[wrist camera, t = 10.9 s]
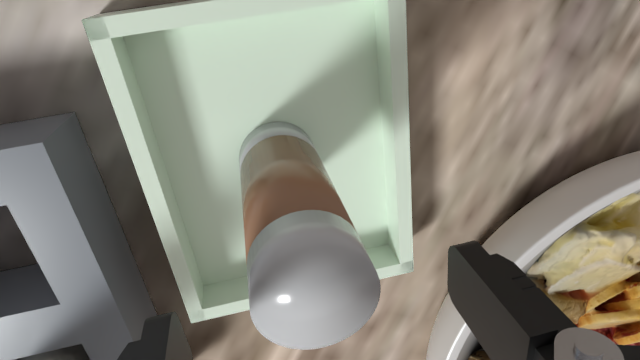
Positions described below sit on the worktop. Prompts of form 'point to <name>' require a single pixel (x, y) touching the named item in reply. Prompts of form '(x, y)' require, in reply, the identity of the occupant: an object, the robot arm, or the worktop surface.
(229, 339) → the worktop surface
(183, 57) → the parts tray
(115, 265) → the block
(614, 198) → the bowl
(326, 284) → the cylinder
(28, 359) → the fuse
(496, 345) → the robot arm
